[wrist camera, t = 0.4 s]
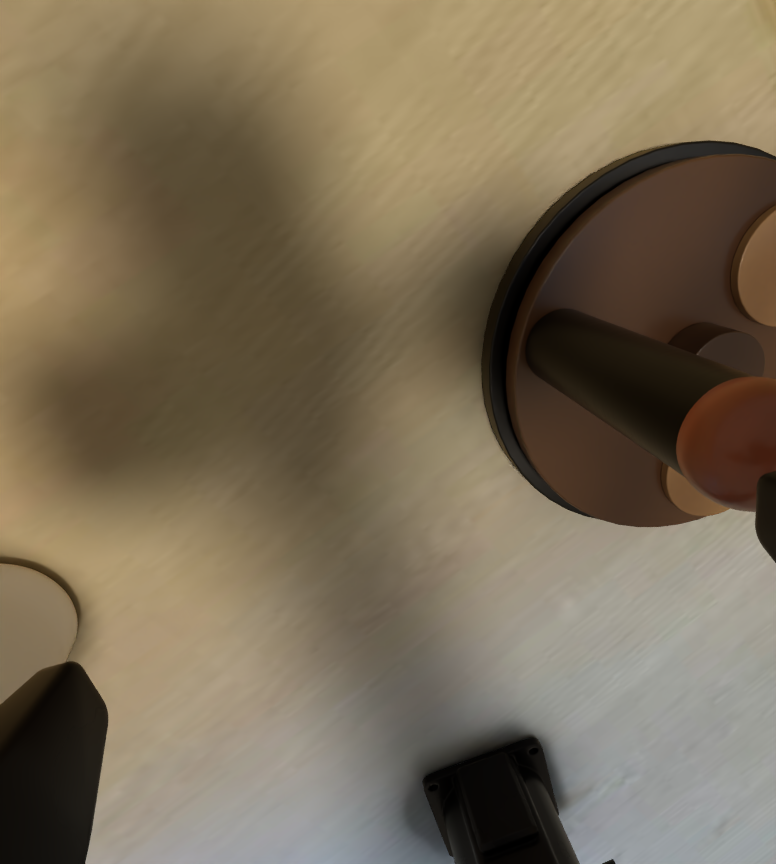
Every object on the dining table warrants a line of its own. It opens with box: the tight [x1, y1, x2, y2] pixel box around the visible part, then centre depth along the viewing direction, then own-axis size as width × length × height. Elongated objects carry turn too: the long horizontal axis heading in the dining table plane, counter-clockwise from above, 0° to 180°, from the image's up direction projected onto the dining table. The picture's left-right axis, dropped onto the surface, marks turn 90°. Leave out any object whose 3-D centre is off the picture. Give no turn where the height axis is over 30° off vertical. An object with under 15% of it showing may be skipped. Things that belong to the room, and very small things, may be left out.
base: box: [482, 140, 776, 519], centre depth 23 cm, size 15×15×1 cm
